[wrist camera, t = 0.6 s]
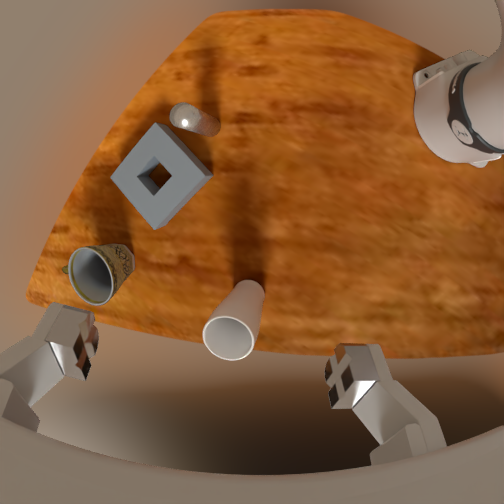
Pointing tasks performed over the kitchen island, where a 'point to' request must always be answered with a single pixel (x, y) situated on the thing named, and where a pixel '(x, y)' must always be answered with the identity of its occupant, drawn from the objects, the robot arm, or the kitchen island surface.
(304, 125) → the kitchen island surface
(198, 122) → the steel pin
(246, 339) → the white tapered cylinder
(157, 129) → the socket block
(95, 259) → the ceramic cup
